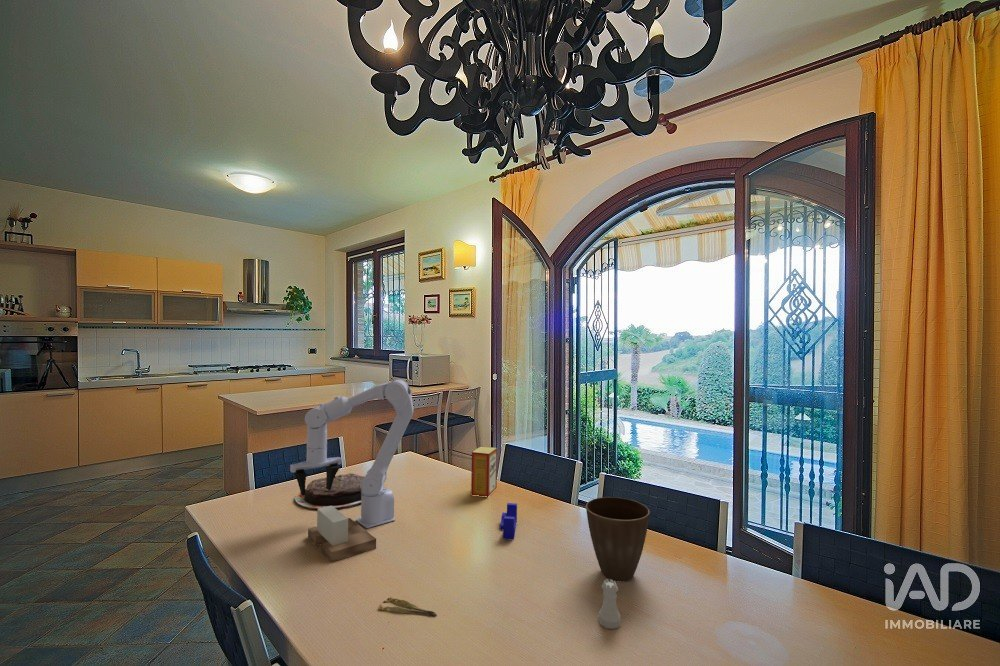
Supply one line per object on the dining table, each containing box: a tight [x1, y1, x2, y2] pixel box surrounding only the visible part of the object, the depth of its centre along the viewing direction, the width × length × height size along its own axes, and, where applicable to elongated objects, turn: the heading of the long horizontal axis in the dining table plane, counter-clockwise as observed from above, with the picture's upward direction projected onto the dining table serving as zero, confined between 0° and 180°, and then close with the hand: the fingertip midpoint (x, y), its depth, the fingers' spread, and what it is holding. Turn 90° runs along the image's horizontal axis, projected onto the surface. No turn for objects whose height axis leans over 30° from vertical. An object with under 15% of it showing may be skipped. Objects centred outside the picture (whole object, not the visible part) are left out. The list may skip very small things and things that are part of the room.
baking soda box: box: [470, 446, 498, 497], centre depth 164 cm, size 10×6×16 cm
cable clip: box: [500, 502, 518, 540], centre depth 132 cm, size 12×4×6 cm, turn 174°
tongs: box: [377, 597, 438, 617], centre depth 92 cm, size 4×13×2 cm, turn 77°
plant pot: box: [585, 496, 650, 583], centre depth 107 cm, size 15×15×16 cm
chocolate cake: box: [294, 473, 365, 510], centre depth 158 cm, size 28×28×7 cm
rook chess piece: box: [597, 578, 622, 630], centre depth 89 cm, size 4×4×8 cm
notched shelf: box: [307, 517, 377, 563], centre depth 122 cm, size 12×18×2 cm, turn 41°
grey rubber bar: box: [316, 506, 349, 546], centre depth 121 cm, size 4×12×6 cm, turn 41°
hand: (316, 491), depth 135 cm, fingers open, 7 cm apart
